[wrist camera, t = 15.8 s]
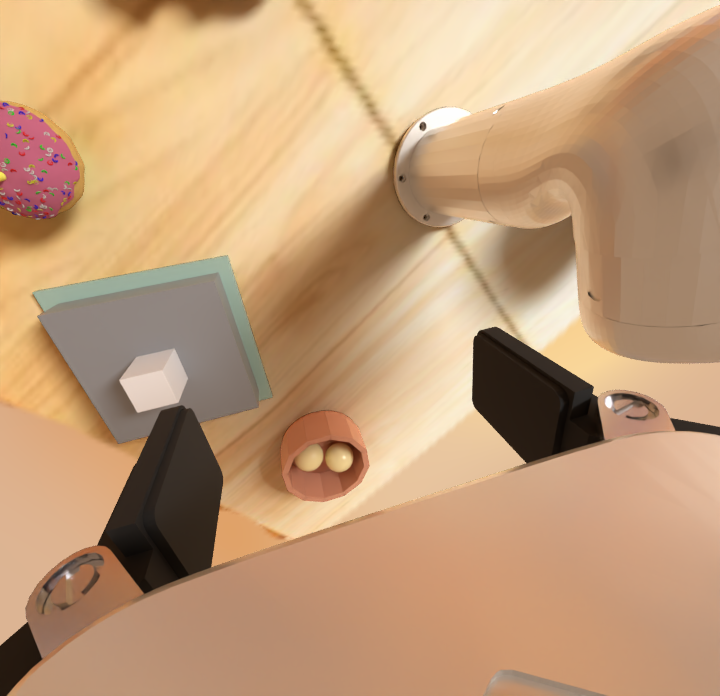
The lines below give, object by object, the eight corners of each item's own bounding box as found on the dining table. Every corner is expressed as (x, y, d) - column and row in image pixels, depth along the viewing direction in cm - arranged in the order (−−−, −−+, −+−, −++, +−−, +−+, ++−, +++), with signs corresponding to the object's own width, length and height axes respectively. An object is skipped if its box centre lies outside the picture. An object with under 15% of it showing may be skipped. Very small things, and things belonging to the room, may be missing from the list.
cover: (218, 272, 39) (206, 294, 31) (259, 390, 47) (257, 432, 39) (58, 303, 36) (2, 336, 28) (130, 423, 44) (100, 475, 36)
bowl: (352, 401, 52) (362, 425, 47) (363, 459, 58) (373, 486, 53) (272, 423, 50) (273, 451, 45) (291, 480, 56) (294, 511, 51)
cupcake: (101, 224, 35) (31, 242, 24) (-6, 196, 32) (-138, 203, 21) (105, 132, 32) (27, 107, 21) (-13, 92, 29) (-170, 40, 18)
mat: (227, 255, 39) (227, 256, 38) (272, 395, 48) (272, 397, 48) (35, 291, 36) (32, 292, 35) (123, 433, 45) (121, 436, 45)
